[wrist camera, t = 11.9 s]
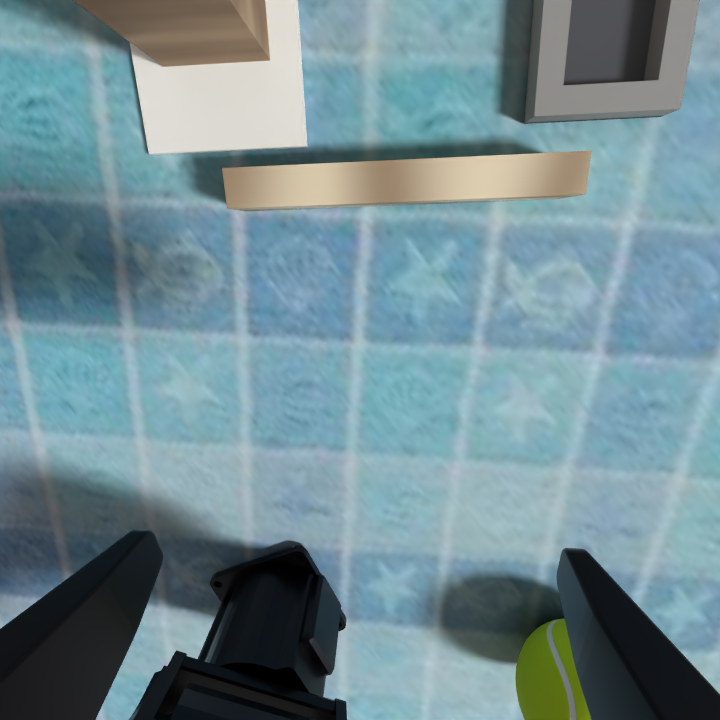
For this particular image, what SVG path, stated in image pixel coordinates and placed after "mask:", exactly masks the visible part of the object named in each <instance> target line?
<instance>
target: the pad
mask: <svg viewBox="0 0 720 720" xmlns="http://www.w3.org/2000/svg"><path fill="white" fill-rule="evenodd" d="M265 4H266V16H267V28H268V39H269V51H270V61H253V62H237V63H220V64H203V65H186V66H169V67H163V66H162V65H160V64H159V63H157V62H156V61H155V60H153V59H152V58H151V57H149V56H148V55H147V54H145V53H144V52H143V51H141V50H140V49H138V48H137V47H136V46H134V45H133V44H132V43H130V47H131V53H132V59H133V64H134V70H135V76H136V82H137V88H138V93H139V99H140V105H141V111H142V117H143V122H144V128H145V134H146V140H147V146H148V152H149V154H151V155H165V154H185V153H206V152H226V151H247V150H267V149H287V148H308V147H307V132H306V117H305V102H304V87H303V72H302V56H301V41H300V26H299V11H298V0H265Z"/></svg>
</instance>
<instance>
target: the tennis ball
mask: <svg viewBox="0 0 720 720" xmlns="http://www.w3.org/2000/svg"><path fill="white" fill-rule="evenodd" d="M516 690H517V696H518V701H519V705H520V708H521V711H522V714H523V717H524V719H525V720H591V717H590V714H589V711H588V707H587V704H586V701H585V698H584V695H583V692H582V689H581V686H580V682H579V679H578V675H577V672H576V668H575V664H574V660H573V655H572V651H571V646H570V642H569V637H568V632H567V628H566V623H565V619H557V620H552V621H550V622H547V623H545V624H543V625H541V626H540V627H538V628H537V629H536V630H535V631H533V632H532V633H531V634H530V636H529V637H528V638H527V639H526V641H525V643H524V644H523V646H522V648H521V651H520V654H519V657H518V661H517V666H516Z"/></svg>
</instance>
